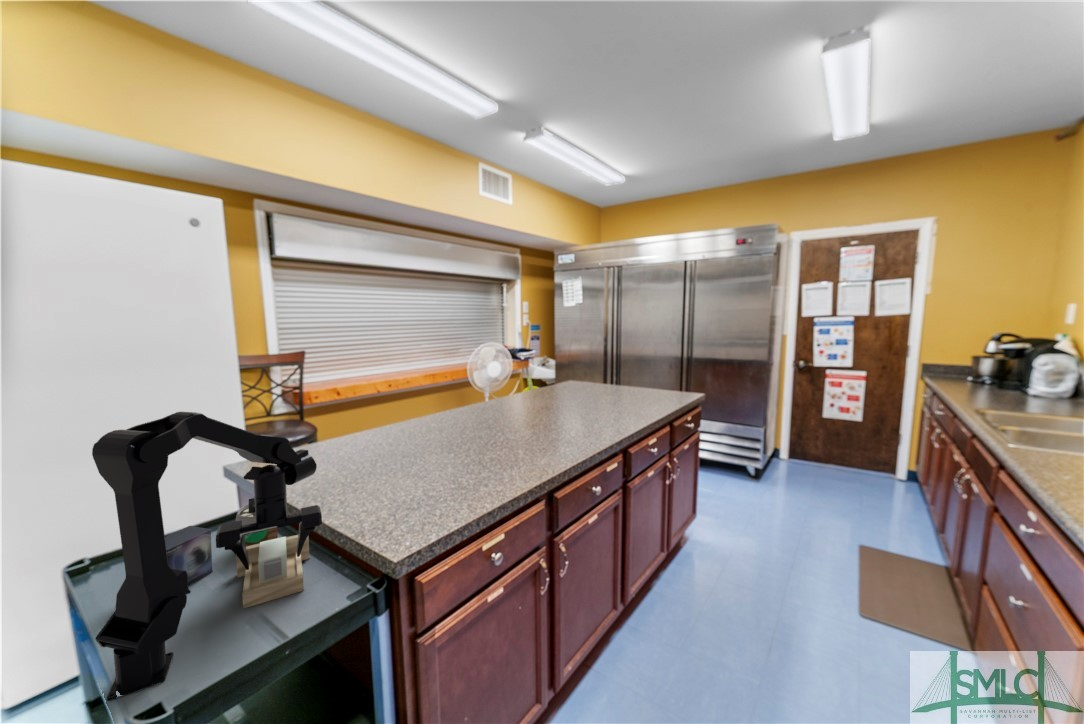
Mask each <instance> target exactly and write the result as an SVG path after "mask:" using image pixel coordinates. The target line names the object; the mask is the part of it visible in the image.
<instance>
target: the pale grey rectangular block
mask: <svg viewBox="0 0 1084 724" xmlns="http://www.w3.org/2000/svg"><path fill="white" fill-rule="evenodd" d="M286 537H287V536H282V537H277V538H276V539H272V540H268V541H263V542H260V547H259V559H258V567H259V584H262V583H265V582H269V581H273V580H276V579H280V578H283V577H287V550H286Z"/></svg>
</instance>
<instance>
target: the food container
mask: <svg viewBox="0 0 1084 724" xmlns="http://www.w3.org/2000/svg"><path fill="white" fill-rule="evenodd" d="M240 520H241V521H242V526H244V525H249V524H253V523H256V516H255V512H254V513H249V503H247V504H245V505H243V506H242V507H240V508H239V509H238V510H237V513H236V516H235V521H240ZM235 521H234V522H235ZM278 530H279V528H274V529H270V530H265V531H261V532H256V533H251V534H247V535H244V536H245V544H246V547H247V546H251V545H255V544H259V543H260V542H263V541H268V540H272V539H276V538H278Z"/></svg>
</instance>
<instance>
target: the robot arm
mask: <svg viewBox="0 0 1084 724" xmlns="http://www.w3.org/2000/svg"><path fill="white" fill-rule="evenodd" d="M192 439H194V440H196V441H197V440H198V441H200V442H201V441H202V442H205V443H209V444H211V445H215V446H219V447H221V448H222V447H223V448H225V449H228V450H232V451H234V452H237V454H238V455H239V456H240V457H241V458H243V459H244V460H245V459H246V460H247V461H249V462H252V463H257V464H267V465H263V466H262V467H261V466H251V468H250V470H249V471H247V472H246V473H245V474H244V475H243V477H242V478H243V480H247V481H253V489H254V490H253V491H254V493H253V494H254V497H252V498H249V499H248V504H249V513H254V512H255V516H256V523H253V524H249V525H244V526H242V521H241V520H240V521H232V522H226V523H221V524H220V525H219V526H218V528H217V531H216V534H215V548H216V549H221V548H224V550H225V551H231V552H232V553H233V554H234V555H235V557H236V556H237V557H238V558H239V559H240V561H241V562H242V564H243V565H244V567H245V568H246V570H249V558H248V553H247V549H246V544H245V536H244V535H247V534H251V533H256V532H261V531H265V530H270V529H274V528H278V529H279V528H283V527H287V526H293V525H297V524H298V532H297V533H298V534H297V535H298V542H297V557H299V556H300V553H301V551H302V548H303V545H304V543H305V540H306V539H307V537H308V535H310V534H311V532H312V531H315V530H316V527H318V526H319V527H320V526H321V525H322V524H323V519H322V518H323V517H322V511H321V507H320V506H319V505H317V504H316V505H315V504H314V505H311V506H306V507H301V508H300V513H297V514H291V515H288V499H287V498H288V497H287V486H292V485H295V484H297V483H298V482H301V481H303V480H305V479H307V478H309V477H312V476H313V475H314V474H316V471H317V463H316V460H315V459H314V457H313V456H312V455H310V454H309V450H308V449H302V448H301V449H299V450H296V451H295V450H294V448H293V447H292V446H291V444H290V440H289V439H288V438H287V437H286V436H285V437H284V436H278V435H271V434H270V435H269V434H268V435H267V434H261V433H253V432H251V431H248V430H246V429H242V428H240V427H237V426H234V425H232V424H228V423H226V422H223V421H221V420H218V419H214V418H211V417H208V416H207V415H205V414H204V413H201V412H196V411H195V412H193V411H177V412H175V413H171V414H169V415H166V416H164V417H162V418H158V419H155V420H152V421H147V422H145V423H140V424H137V425H134V426H131V427H129V428H127V429H116V430H112V431H110V432H107V433H105V434H104V435H102V436H101V437H100V438H99V439H98V440H97V442H94V444H93V446H92V454H91V456H92V459H93V460H94V463H95V464H94V465H96V468H97V471H98V473H99V475H100V476H101V478H102V479H104V481H105V482H106V483H107V484H108V485H109V487H110V488H111V489H112V490H113V493H114V498H115V505H116V513H117V518H118V519H117V520H118V526H119V527H118V528H119V535H120V540H121V541H120V543H121V550H122V555H123V563H124V564H123V565H124V570H125V579H124V580H123V582H122V584H121V585H120V588H119V590H118V591H117V593H116V599H115V611H113V613H112V615H111V616H110V617H109V619H108V620H107V621H106V623H105V624H104V625H103V627H102V628H101V630H100V631H99V633H98V634H97V635H96V636H95V638H94V639H95V641H96V642H97V643H98V645H99V646H100V647H101V648H109V649H113V661H114V662H113V663H114V673H115V675H114V676H115V679H114V681H113V683H112V685H111V687H110V689H109V691H108V694H107V696H106V701H109V702H111V701H112V700H113V701H114V700H115V699H117V698H116V697H117V695H116V691H118V692H119V693H120V695H125V696H127V695H130V694H132V693H136V692H138V691H142V690H145V689H147V688H150V687H154V686H155V685H159V684H162V683H164V682H165V681H166V679H167V677H168V674H169V670H170V667H171V664H172V660H173V657H174V652H171V651H170V652H167V650H166V642H167V641H168V640H170V639H171V638H173V637H174V636H175V635H176V634H177V631H178V629H179V626H180V622H181V618H182V614H183V611H184V609H185V608H186V605H187V602H188V601H187V599H188V596H187V595H190V594H191V592H192V591H191V590H190V588H189V586H187V579H188V575H187V572H186V571H184V570H178V569H171V568H170V567H169V565H168V559H167V551H166V543H165V537H166V535H165V527H164V521H163V520H164V519H163V512H162V504H161V497H160V487H159V486H160V485H159V484H160V480H161V479H162V477H163V475H164V473H165V472H166V470H167V468H168V463H169V456H170V455H172V454H174V453H176V452H177V451H179V450H182V449H183V448H184V447H185V446H186V445H187V444H188V443H189V442H190V441H191V440H192Z"/></svg>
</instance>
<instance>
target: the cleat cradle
mask: <svg viewBox="0 0 1084 724" xmlns="http://www.w3.org/2000/svg"><path fill="white" fill-rule="evenodd" d="M309 535H310V534H309ZM309 535H308V537H307V539H306V540H305V543H304V545H303V548H302V551H301V553H300V556H299V557H297V542H298V534H296V535H295V534H294V535H290V536H286V550H287V577H283V578H280V579H276V580H273V581H269V582H265V583H262V584H259V567H258V559H259V547H260V543H259V544H255V545H251V546H247V547H246V549H247V553H248V558H249V570H246V568H245V567H244V565H243V564H242V562H241V561H240V559H239V558H238V557H237V556H236V555H235V558H236V560H235V561H236V577H237V578H241V577H244V581H243V586H242V587H243V589H242V595H241V597H242V609H246V608H250V607H253V606H256V605H259V604H263V603H266V602H269V601H273V600H276V599H280V598H283V597H287V596H290V595H293V594H296V593H299V592H303V591H305V588H304V574H303V563H302V562H303V561H305V560H306V561H307V560H310V541H309V538H310V537H309Z"/></svg>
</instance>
